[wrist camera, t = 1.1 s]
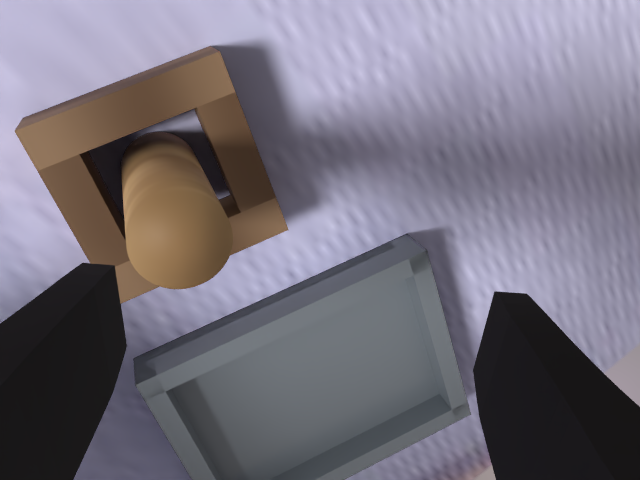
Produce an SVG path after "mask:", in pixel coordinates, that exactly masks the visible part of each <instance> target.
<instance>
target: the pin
mask: <svg viewBox="0 0 640 480" xmlns="http://www.w3.org/2000/svg"><path fill="white" fill-rule="evenodd" d="M121 177H122V191H123V206H124V221H125V235H126V248H127V253H128V257H129V259H130V261H131V263H132V265H133V267H134V268H135V270H136V271H137V272H138V273H139V274H140V275H141V276H142V277H143V278H145V279H146V280H148V281H149V282H151V283H153V284H155V285H158V286H160V287H164V288H169V289H185V288H191V287H195V286H198V285H200V284H202V283H204V282H206V281H208V280H210V279H211V278H213V277H214V276H215V275H216V274H217V273H218V272H219V271H220V270H221V269H222V268H223V266H224V265H225V263H226V262H227V260H228V258H229V256H230V253H231V250H232V245H233V232H232V227H231V224H230V221H229V219H228V217H227V215H226V213H225V211H224V210H223V208H222V206H221V204H220V202H219V200H218V198H217V196H216V194H215V192H214V190H213V188H212V187H211V185H210V183H209V181H208V179H207V177H206V175H205V173H204V171H203V169H202V167H201V165H200V163H199V162H198V160H197V158H196V156H195V154H194V152H193V150H192V149H191V147H190V146H189V145H188V144H187V143H186V142H185V141H184V140H183V139H181V138H180V137H178V136H176V135H174V134H171V133H166V132H151V133H147V134H144V135H142V136H140V137H138V138H137V139H135V140H134V141H133V142H132V143H131V144H130V145H129V146H128V147H127V149H126V151H125V153H124V155H123V158H122V162H121Z"/></svg>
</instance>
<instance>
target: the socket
mask: <svg viewBox="0 0 640 480" xmlns="http://www.w3.org/2000/svg"><path fill="white" fill-rule="evenodd" d="M191 109H194V110H195V112H196V114H197V117H198V119H199V121H200V124H201V126H202V129H203V131H204V133H205V136H206V138H207V140H208V143H209V145H210V148H211V150H212V152H213V155H214V157H215V159H216V162H217V164H218V166H219V169H220V171H221V174H222V176H223V178H224V181H225V183H226V185H227V188H228V190H229V193H230V195H229V196H227V197H225V198H222V199H220V200H219V202H220V204H221V206H222V208H223V210H224V211H225V213H226V215H227V217H228V219H229V221H230V224H231V227H232V232H233V245H232V250H231V253H230V255H232V254H234V253H237V252H239V251H241V250H244V249H246V248H248V247H250V246H253V245H255V244H257V243H259V242H262V241H264V240H266V239H268V238H271V237H273V236H275V235H278V234H280V233H282V232H284V231H287V230H288V227H287V225H286V222H285V219H284V217H283V214H282V212H281V209H280V206H279V204H278V201H277V199H276V196H275V193H274V191H273V188H272V186H271V183H270V181H269V178H268V175H267V173H266V170H265V168H264V165H263V162H262V160H261V157H260V155H259V152H258V149H257V147H256V144H255V142H254V139H253V136H252V134H251V131H250V129H249V126H248V123H247V121H246V118H245V116H244V113H243V110H242V108H241V105H240V103H239V100H238V97H237V95H236V92H235V90H234V87H233V84H232V82H231V79H230V77H229V74H228V71H227V69H226V66H225V64H224V61H223V58H222V56H221V53H220V51H218V50H216V49H215V48H213V47H211V46H209V47H206V48H204V49H201V50H198V51H196V52H193V53H191V54H188V55H185V56H183V57H180V58H178V59H175V60H172V61H170V62H167V63H165V64H162V65H159V66H157V67H154V68H152V69H149V70H146V71H144V72H141V73H139V74H136V75H133V76H131V77H128V78H126V79H123V80H120V81H118V82H115V83H113V84H110V85H107V86H105V87H102V88H100V89H97V90H94V91H92V92H89V93H87V94H84V95H81V96H79V97H76V98H74V99H71V100H68V101H66V102H63V103H61V104H58V105H55V106H53V107H50V108H48V109H45V110H42V111H40V112H37V113H35V114H32V115H30V116H27V117H24V118H23V119H22V120H21V122H20V123H19V125H18V126H17V128H16V129H15V133H16V134H17V136H18V138H19V140H20V141H21V143H22V145H23V147H24V148H25V150H26V152H27V154H28V155H29V157H30V159H31V161H32V162H33V164H34V166H35V168H36V169H37V171H38V173H39V175H40V176H41V178H42V180H43V182H44V183H45V185H46V187H47V188H48V190H49V192H50V194H51V195H52V197H53V199H54V201H55V202H56V204H57V206H58V208H59V209H60V211H61V213H62V215H63V216H64V218H65V220H66V222H67V223H68V225H69V227H70V229H71V230H72V232H73V234H74V236H75V237H76V239H77V241H78V243H79V244H80V246H81V248H82V250H83V251H84V253H85V255H86V256H87V258H88V260H89V262H90V263H91V264H105V265H115V270H116V277H117V284H118V291H119V297H120V304H121V303H123V302H126V301H128V300H130V299H132V298H135V297H137V296H139V295H142V294H144V293H146V292H148V291H151V290H153V289H155V288H157V287H160V286H158V285H155V284H153V283H151V282H149V281H148V280H146V279H145V278H143V277H142V276H141V275H140V274H139V273H138V272H137V271H136V270H135V268H134V267H133V265H132V263H131V261H130V259H129V257H128V253H127V248H126V235H125V221H124V219H123V218H122V216H121V214H120V212H119V210H118V208H117V206H116V204H115V202H114V200H113V198H112V197H111V195H110V193H109V191H108V189H107V187H106V185H105V183H104V181H103V179H102V177H101V176H100V174H99V172H98V170H97V168H96V166H95V164H94V162H93V160H92V158H91V156H90V154H89V153H88V151H89V150H91V149H94V148H96V147H99V146H101V145H104V144H106V143H109V142H111V141H114V140H116V139H119V138H121V137H124V136H126V135H129V134H131V133H134V132H136V131H139V130H141V129H144V128H146V127H149V126H151V125H154V124H156V123H159V122H161V121H164V120H166V119H169V118H171V117H174V116H176V115H179V114H181V113H184V112H186V111H189V110H191Z"/></svg>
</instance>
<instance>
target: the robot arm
mask: <svg viewBox="0 0 640 480" xmlns="http://www.w3.org/2000/svg"><path fill="white" fill-rule="evenodd" d="M126 347H127V344H126V338H125V331H124V324H123V317H122V311H121V304H120V297H119V291H118V284H117V277H116V270H115V265H105V264H90V263H82V264H80V265H79V266H78V267H76V268H75V269H73V270H72V271H71V272H69V273H68V274H66V275H65V276H64V277H62V278H61V279H60V280H58V281H57V282H56V283H54V284H53V285H52V286H51V287H49V288H48V289H47V290H45V291H44V292H43V293H41V294H40V295H39V296H37V297H36V298H35V299H33V300H32V301H31V302H29V303H28V304H27V305H25V306H24V307H22V308H21V309H20V310H18V311H17V312H16V313H14V314H13V315H12V316H10V317H9V318H7V319H6V320H5V321H3V322H2V323H1V324H0V480H73V479H74V477H75V475H76V472H77V470H78V468H79V466H80V464H81V462H82V459H83V457H84V455H85V453H86V451H87V449H88V446H89V444H90V442H91V440H92V438H93V436H94V433H95V431H96V429H97V427H98V425H99V422H100V420H101V418H102V416H103V414H104V411H105V409H106V407H107V405H108V402H109V400H110V398H111V396H112V393H113V390H114V387H115V384H116V381H117V378H118V374H119V371H120V368H121V364H122V361H123V358H124V354H125V351H126ZM473 372H474V380H475V388H476V396H477V403H478V410H479V417H480V421H481V425H482V429H483V433H484V437H485V440H486V444H487V448H488V452H489V455H490V459H491V463H492V466H493V470H494V474H495V477H496V480H640V407H639V406H638V405H637V404H636V403H635V402H634V401H632V400H631V399H630V398H629V397H628V396H627V395H626V394H625V393H624V392H623V391H621V390H620V389H619V388H618V387H617V386H616V385H615V384H614V383H613V382H612V381H611V380H610V379H609V378H608V377H607V376H606V375H605V374H604V373H603V372H602V371H601V370H600V369H599V368H598V367H597V366H596V365H595V364H594V363H593V362H592V361H591V360H590V359H589V358H588V357H587V356H586V355H585V354H584V353H583V352H582V351H581V350H580V349H579V348H578V347H577V346H576V345H575V344H574V343H573V342H572V341H571V340H570V339H569V338H568V337H567V336H566V334H565V333H564V332H563V331H562V330H561V329H560V328H559V327H558V326H557V325H556V324H555V323H554V322H553V321H552V320H551V318H550V317H549V316H548V315H547V314H546V313H545V312H544V311H543V310H542V309H541V308H540V307H539V306H538V305H537V304H536V303H535V302H534V300H533V299H532V298H531V297H530V296H529V295H528V294H523V293H508V292H494V296H493V299H492V303H491V307H490V310H489V314H488V318H487V321H486V325H485V329H484V332H483V336H482V340H481V343H480V347H479V351H478V354H477V358H476V362H475V365H474V369H473Z"/></svg>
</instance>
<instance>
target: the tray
mask: <svg viewBox="0 0 640 480" xmlns="http://www.w3.org/2000/svg"><path fill="white" fill-rule="evenodd" d="M134 373H135V385H136V387H137V389H138V390H139V392H140V394H141V396H142V397H143V399H144V401H145V402H146V404H147V406H148V407H149V409H150V411H151V412H152V414H153V416H154V417H155V419H156V421H157V422H158V424H159V426H160V427H161V429H162V431H163V432H164V434H165V436H166V437H167V439H168V441H169V442H170V444H171V446H172V447H173V449H174V451H175V452H176V454H177V456H178V457H179V459H180V461H181V462H182V464H183V466H184V467H185V469H186V471H187V472H188V474H189V476H190V477H191V479H192V480H344V479H346V478H348V477H350V476H352V475H354V474H356V473H358V472H360V471H362V470H364V469H366V468H368V467H370V466H372V465H374V464H375V463H377V462H379V461H381V460H383V459H385V458H387V457H389V456H391V455H393V454H395V453H397V452H399V451H401V450H403V449H405V448H407V447H409V446H410V445H412V444H414V443H416V442H418V441H420V440H422V439H424V438H426V437H428V436H430V435H432V434H434V433H436V432H438V431H440V430H442V429H443V428H445V427H447V426H449V425H451V424H453V423H455V422H457V421H459V420H461V419H463V418H465V417H467V416H469V415H471V413H470V409H469V405H468V401H467V398H466V394H465V390H464V387H463V383H462V379H461V375H460V372H459V368H458V364H457V361H456V357H455V353H454V350H453V346H452V342H451V338H450V335H449V331H448V327H447V324H446V320H445V316H444V312H443V309H442V305H441V301H440V298H439V294H438V290H437V286H436V283H435V279H434V275H433V272H432V268H431V264H430V260H429V257H428V253H427V250H426V249H425V248H423V247H422V246H421V245H420V244H419V243H417V242H416V241H415V240H414V239H413V238H411V237H410V236H409V235H408V234H406V235H403V236H401V237H399V238H397V239H395V240H392V241H390V242H388V243H386V244H384V245H381V246H379V247H377V248H375V249H373V250H370V251H368V252H366V253H364V254H362V255H360V256H357V257H355V258H353V259H351V260H349V261H346V262H344V263H342V264H340V265H338V266H335V267H333V268H331V269H329V270H327V271H324V272H322V273H320V274H318V275H316V276H314V277H311V278H309V279H307V280H305V281H303V282H300V283H298V284H296V285H294V286H292V287H289V288H287V289H285V290H283V291H281V292H278V293H276V294H274V295H272V296H270V297H268V298H265V299H263V300H261V301H259V302H257V303H254V304H252V305H250V306H248V307H246V308H243V309H241V310H239V311H237V312H235V313H232V314H230V315H228V316H226V317H224V318H222V319H219V320H217V321H215V322H213V323H211V324H208V325H206V326H204V327H202V328H200V329H197V330H195V331H193V332H191V333H189V334H186V335H184V336H182V337H180V338H178V339H176V340H173V341H171V342H169V343H167V344H165V345H162V346H160V347H158V348H156V349H154V350H151V351H149V352H147V353H145V354H143V355H140V356H138V357H136V358H134Z"/></svg>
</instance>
